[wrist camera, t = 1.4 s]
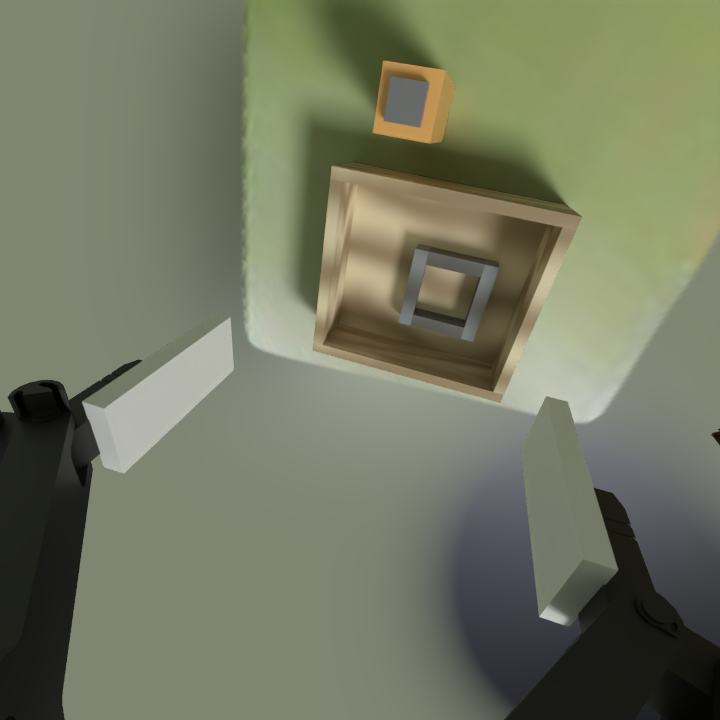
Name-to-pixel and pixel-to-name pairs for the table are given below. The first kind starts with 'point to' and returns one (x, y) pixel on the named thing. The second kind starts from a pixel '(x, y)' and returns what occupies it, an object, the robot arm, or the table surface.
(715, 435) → the electronic device
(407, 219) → the walled box
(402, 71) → the block
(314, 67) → the table surface
